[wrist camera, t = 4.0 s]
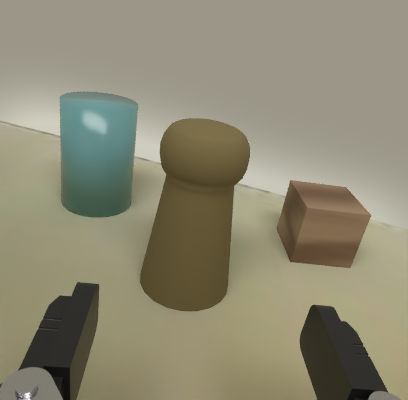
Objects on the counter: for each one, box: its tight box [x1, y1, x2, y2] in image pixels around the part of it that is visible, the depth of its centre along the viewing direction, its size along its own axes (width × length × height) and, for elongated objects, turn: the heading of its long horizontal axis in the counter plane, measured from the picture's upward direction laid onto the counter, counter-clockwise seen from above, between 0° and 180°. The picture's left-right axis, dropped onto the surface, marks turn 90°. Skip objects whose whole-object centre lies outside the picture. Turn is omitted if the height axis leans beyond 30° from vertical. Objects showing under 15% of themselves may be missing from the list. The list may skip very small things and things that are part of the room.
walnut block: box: [277, 180, 371, 268], centre depth 31 cm, size 5×5×5 cm
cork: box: [140, 119, 250, 311], centre depth 23 cm, size 6×6×11 cm
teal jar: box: [60, 92, 138, 217], centre depth 32 cm, size 6×6×9 cm
